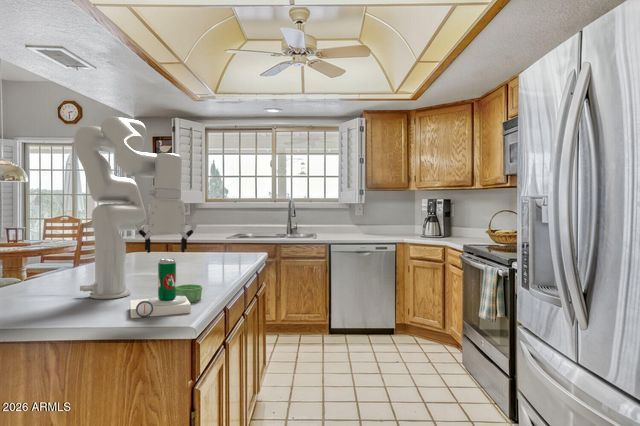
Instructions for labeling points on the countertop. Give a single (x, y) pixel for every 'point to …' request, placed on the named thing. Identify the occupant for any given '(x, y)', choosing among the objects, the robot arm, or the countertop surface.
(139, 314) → the scale
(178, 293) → the ramekin
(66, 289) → the countertop surface
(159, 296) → the soda can
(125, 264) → the robot arm
